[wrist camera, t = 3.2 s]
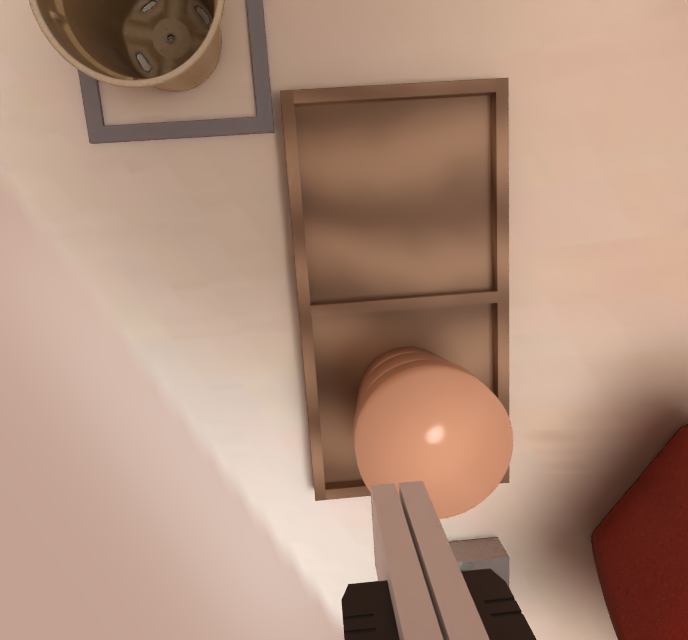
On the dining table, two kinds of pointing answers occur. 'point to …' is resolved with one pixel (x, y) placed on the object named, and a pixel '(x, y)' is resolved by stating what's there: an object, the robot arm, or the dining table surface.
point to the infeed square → (198, 127)
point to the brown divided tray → (395, 243)
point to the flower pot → (135, 39)
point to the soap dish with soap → (482, 556)
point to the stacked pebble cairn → (430, 429)
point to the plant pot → (648, 550)
